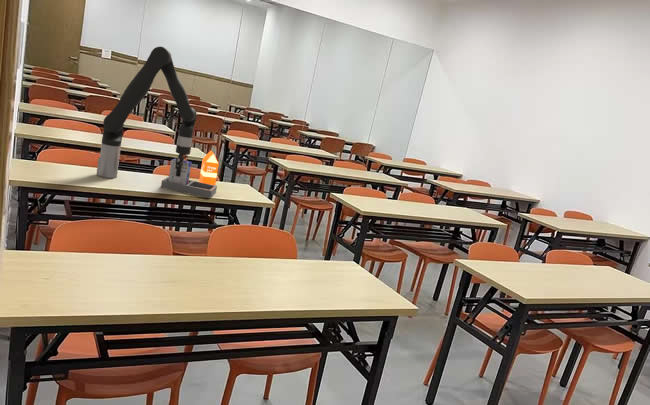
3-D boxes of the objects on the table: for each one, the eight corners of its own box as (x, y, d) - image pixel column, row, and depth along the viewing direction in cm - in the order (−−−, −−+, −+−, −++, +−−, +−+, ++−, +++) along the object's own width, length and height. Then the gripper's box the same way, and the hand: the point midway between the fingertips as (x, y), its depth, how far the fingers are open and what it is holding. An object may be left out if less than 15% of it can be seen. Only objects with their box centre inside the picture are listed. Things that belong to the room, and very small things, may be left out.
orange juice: (211, 183, 291) (217, 151, 287) (214, 187, 284) (220, 154, 279) (198, 182, 288) (203, 149, 283) (201, 186, 280) (207, 152, 275)
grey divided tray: (160, 187, 258) (161, 180, 257) (168, 182, 272) (169, 175, 271) (210, 198, 260) (211, 190, 259) (215, 192, 273) (217, 185, 272)
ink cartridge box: (188, 183, 268) (192, 157, 264) (185, 185, 262) (189, 159, 259) (171, 179, 267) (174, 153, 264) (167, 181, 262) (171, 155, 259)
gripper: (180, 141, 267) (176, 171, 271) (173, 144, 253) (168, 176, 257) (194, 144, 267) (189, 174, 271) (187, 147, 253) (182, 179, 257)
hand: (179, 175), depth 264 cm, fingers closed on ink cartridge box, 5 cm apart
